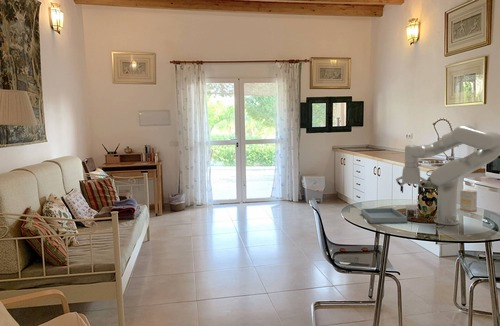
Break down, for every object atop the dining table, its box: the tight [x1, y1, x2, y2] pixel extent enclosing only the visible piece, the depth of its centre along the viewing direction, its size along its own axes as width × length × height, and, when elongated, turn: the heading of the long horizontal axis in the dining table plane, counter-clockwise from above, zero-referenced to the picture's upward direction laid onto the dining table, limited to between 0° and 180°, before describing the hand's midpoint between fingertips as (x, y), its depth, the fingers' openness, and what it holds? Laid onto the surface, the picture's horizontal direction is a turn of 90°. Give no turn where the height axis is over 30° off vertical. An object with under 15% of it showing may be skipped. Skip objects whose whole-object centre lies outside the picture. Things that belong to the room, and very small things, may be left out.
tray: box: [360, 207, 408, 225], centre depth 216 cm, size 24×20×4 cm
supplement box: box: [459, 188, 478, 213], centre depth 227 cm, size 8×5×13 cm, turn 22°
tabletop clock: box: [417, 169, 438, 195], centre depth 242 cm, size 14×9×25 cm, turn 90°
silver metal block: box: [405, 204, 418, 219], centre depth 218 cm, size 12×6×6 cm, turn 157°
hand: (410, 192), depth 218 cm, fingers open, 9 cm apart
